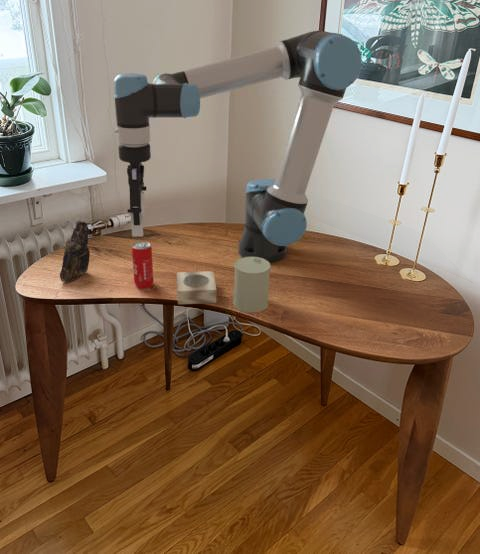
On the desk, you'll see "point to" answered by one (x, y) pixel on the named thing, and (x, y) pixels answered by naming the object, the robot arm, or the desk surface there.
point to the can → (251, 284)
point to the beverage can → (142, 264)
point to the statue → (76, 254)
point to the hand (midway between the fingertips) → (139, 225)
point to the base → (196, 287)
